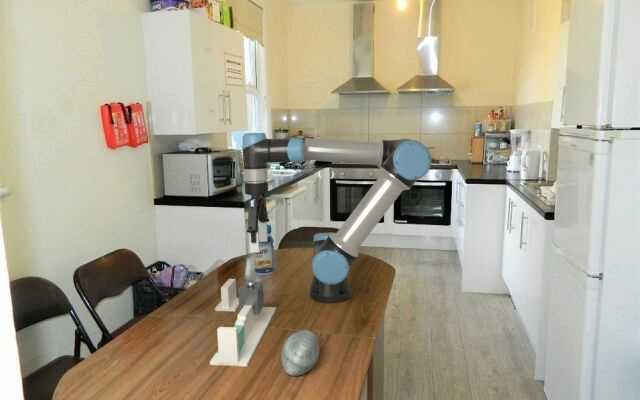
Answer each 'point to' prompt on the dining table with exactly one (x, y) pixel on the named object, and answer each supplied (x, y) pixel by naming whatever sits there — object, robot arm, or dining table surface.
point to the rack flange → (242, 337)
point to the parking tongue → (228, 297)
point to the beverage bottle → (265, 255)
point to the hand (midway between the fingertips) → (259, 246)
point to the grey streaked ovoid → (300, 353)
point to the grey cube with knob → (251, 295)
